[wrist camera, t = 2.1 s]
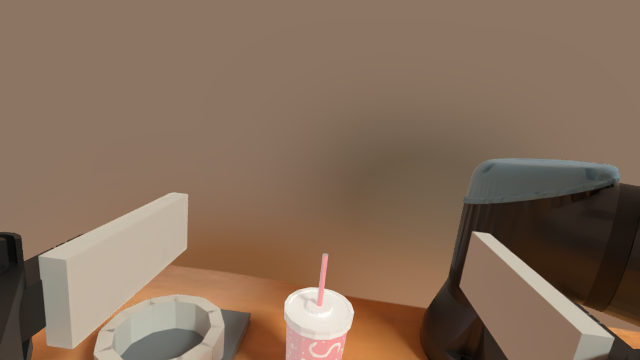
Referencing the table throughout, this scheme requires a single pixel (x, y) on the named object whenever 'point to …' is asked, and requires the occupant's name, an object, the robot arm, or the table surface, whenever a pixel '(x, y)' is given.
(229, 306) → the table surface
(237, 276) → the table surface
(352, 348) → the table surface
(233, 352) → the cup holder
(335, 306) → the beverage cup
